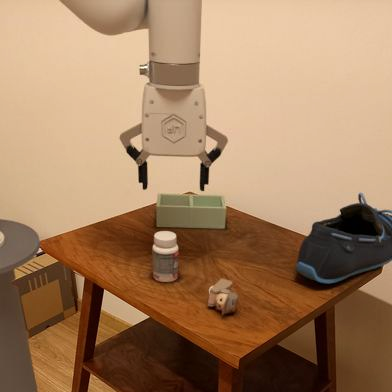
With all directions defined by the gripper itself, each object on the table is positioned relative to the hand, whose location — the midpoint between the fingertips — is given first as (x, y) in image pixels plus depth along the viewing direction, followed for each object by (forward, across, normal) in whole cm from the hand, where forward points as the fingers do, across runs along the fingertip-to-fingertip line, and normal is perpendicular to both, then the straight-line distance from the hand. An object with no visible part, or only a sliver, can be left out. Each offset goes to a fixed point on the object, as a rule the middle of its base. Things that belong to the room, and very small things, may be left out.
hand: (173, 187), depth 87 cm
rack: (+17, +4, +27) cm, 32 cm away
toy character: (+15, +6, -10) cm, 18 cm away
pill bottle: (+17, -1, 0) cm, 17 cm away
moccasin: (+17, +36, +8) cm, 40 cm away
